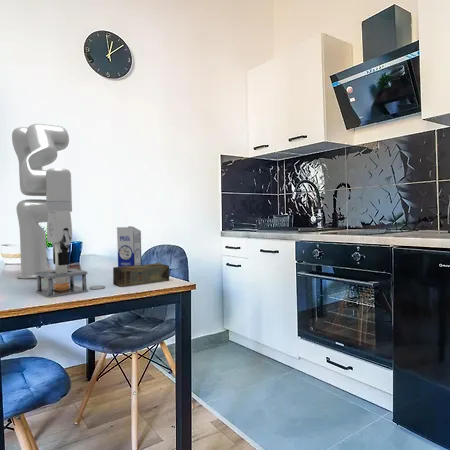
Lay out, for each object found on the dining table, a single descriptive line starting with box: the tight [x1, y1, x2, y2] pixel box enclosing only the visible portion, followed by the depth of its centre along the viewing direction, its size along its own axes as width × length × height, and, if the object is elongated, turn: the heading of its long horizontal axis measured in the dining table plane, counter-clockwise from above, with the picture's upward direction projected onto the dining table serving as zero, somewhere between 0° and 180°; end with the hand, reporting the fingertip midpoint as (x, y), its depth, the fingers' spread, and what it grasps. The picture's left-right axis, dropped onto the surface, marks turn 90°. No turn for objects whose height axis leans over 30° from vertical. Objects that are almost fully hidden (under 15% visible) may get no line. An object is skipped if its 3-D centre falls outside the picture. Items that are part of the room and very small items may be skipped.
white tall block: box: [54, 240, 69, 284], centre depth 122 cm, size 4×4×16 cm
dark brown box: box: [112, 262, 170, 288], centre depth 137 cm, size 8×19×7 cm, turn 127°
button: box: [53, 281, 70, 292], centre depth 122 cm, size 4×4×2 cm
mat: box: [89, 285, 106, 291], centre depth 127 cm, size 5×5×1 cm
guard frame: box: [35, 267, 89, 298], centre depth 122 cm, size 12×12×6 cm
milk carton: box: [116, 225, 143, 267], centre depth 150 cm, size 7×7×20 cm
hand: (61, 263), depth 122 cm, fingers closed on white tall block, 3 cm apart
